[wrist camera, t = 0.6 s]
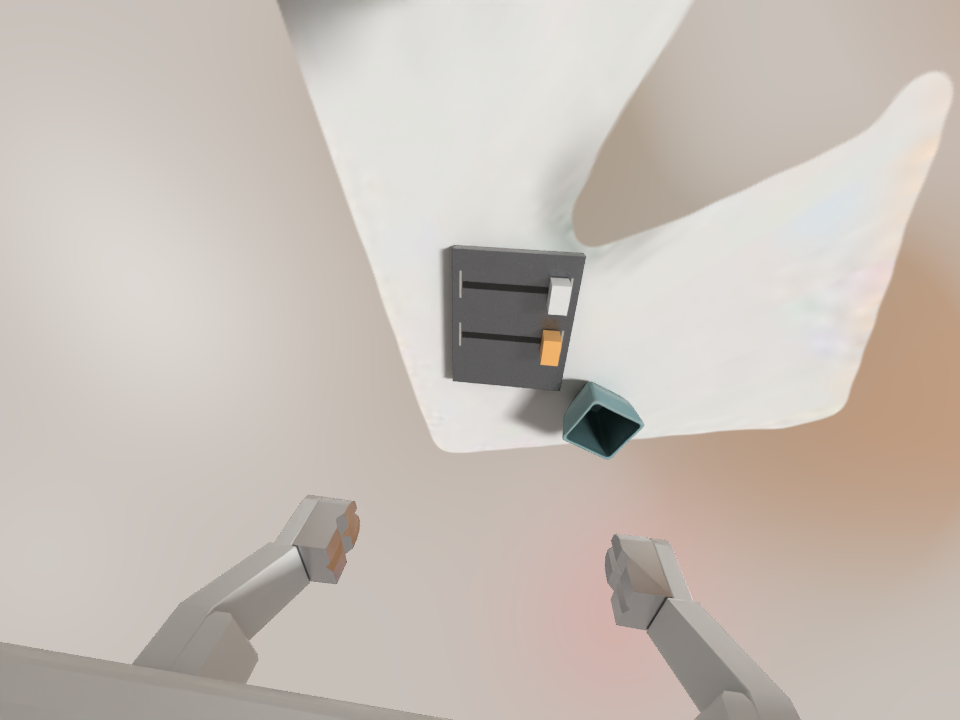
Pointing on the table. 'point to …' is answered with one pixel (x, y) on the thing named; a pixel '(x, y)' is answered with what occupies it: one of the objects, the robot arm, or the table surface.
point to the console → (509, 314)
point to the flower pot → (600, 421)
